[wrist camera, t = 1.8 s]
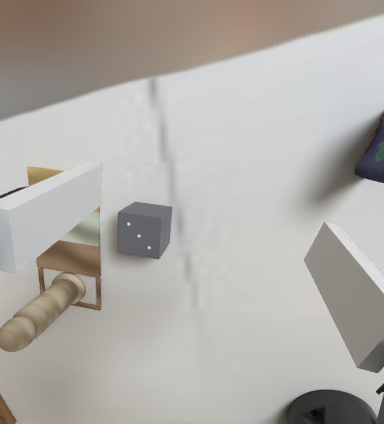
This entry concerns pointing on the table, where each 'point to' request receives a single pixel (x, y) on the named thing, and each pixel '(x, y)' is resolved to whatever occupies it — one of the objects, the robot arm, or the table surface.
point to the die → (144, 229)
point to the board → (72, 245)
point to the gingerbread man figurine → (5, 413)
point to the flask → (373, 157)
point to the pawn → (41, 312)
